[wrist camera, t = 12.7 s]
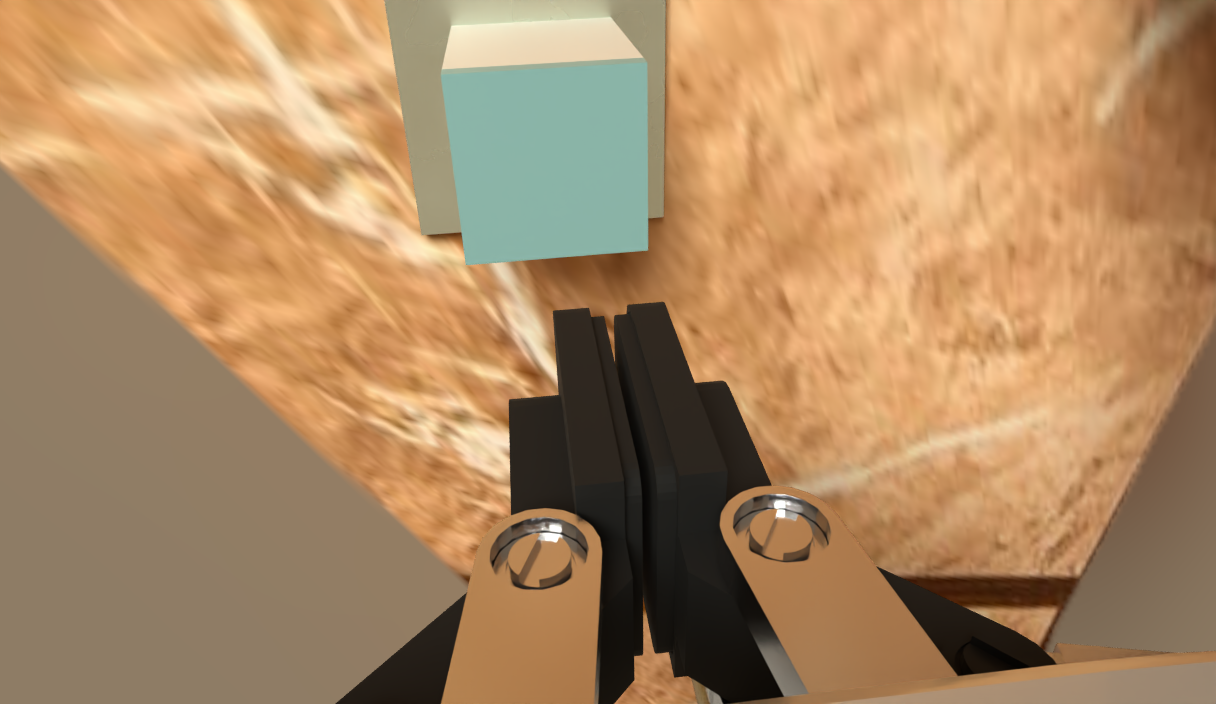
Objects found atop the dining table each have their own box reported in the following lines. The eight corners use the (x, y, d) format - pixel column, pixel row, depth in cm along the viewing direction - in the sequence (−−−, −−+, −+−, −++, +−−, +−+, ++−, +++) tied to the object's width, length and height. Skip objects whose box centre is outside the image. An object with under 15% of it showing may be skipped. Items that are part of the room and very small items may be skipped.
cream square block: (662, -51, 26) (706, -29, 21) (660, 211, 31) (696, 282, 26) (380, -39, 25) (353, -13, 20) (422, 228, 30) (409, 306, 25)
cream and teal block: (611, 17, 27) (647, 62, 21) (614, 170, 29) (647, 250, 23) (451, 25, 26) (440, 74, 20) (470, 181, 29) (465, 265, 23)
